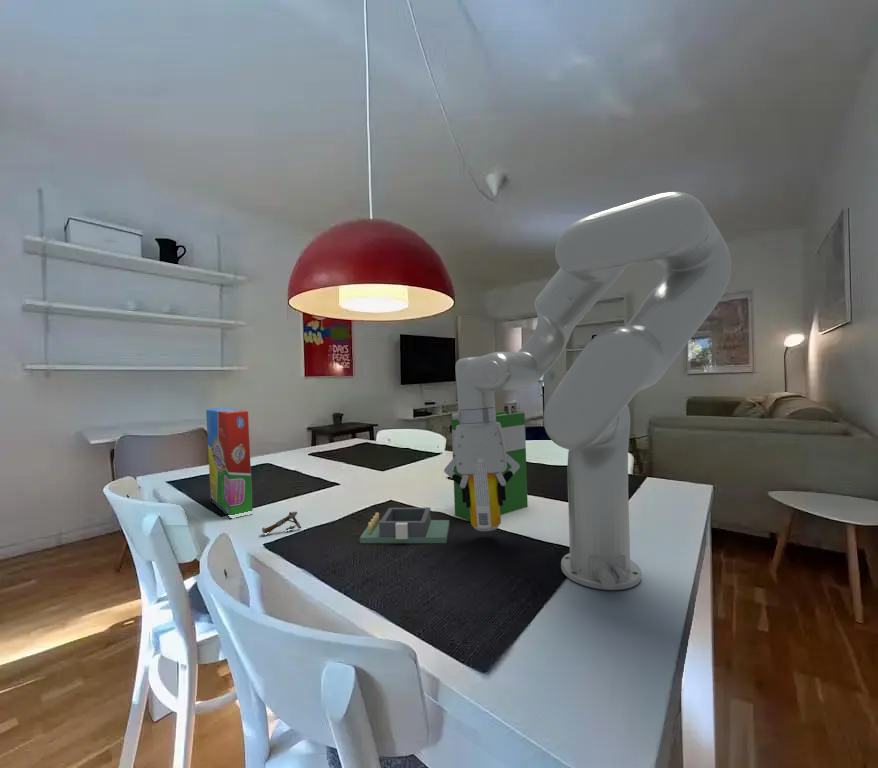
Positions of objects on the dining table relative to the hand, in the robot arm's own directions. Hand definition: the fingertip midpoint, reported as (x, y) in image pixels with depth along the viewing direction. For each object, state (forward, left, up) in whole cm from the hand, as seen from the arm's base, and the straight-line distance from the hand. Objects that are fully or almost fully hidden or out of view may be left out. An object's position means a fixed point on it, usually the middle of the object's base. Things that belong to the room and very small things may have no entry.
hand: (484, 504), depth 85 cm
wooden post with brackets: (+5, +46, -8) cm, 47 cm away
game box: (+22, +69, -8) cm, 73 cm away
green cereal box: (+19, -2, -8) cm, 20 cm away
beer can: (0, 0, -5) cm, 5 cm away
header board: (+4, +17, -8) cm, 19 cm away
